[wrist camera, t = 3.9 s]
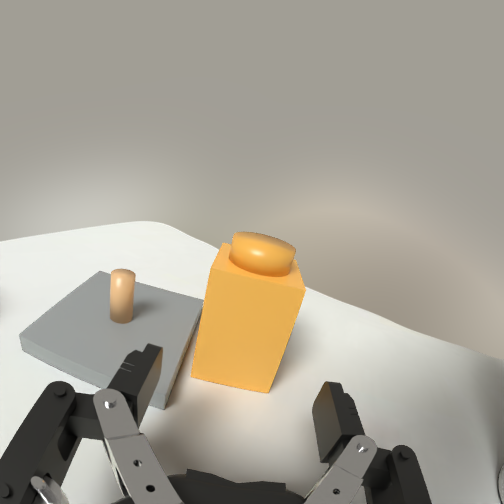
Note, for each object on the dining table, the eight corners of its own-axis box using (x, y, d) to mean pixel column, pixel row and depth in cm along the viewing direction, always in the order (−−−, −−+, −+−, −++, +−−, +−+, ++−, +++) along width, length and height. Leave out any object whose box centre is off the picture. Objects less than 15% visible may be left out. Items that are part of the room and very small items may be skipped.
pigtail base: (201, 312, 30) (210, 263, 28) (164, 409, 17) (170, 346, 15) (99, 283, 30) (101, 235, 28) (22, 350, 16) (11, 286, 15)
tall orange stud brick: (267, 349, 26) (301, 241, 23) (268, 393, 21) (313, 266, 18) (203, 335, 26) (227, 223, 23) (190, 376, 20) (215, 243, 17)
